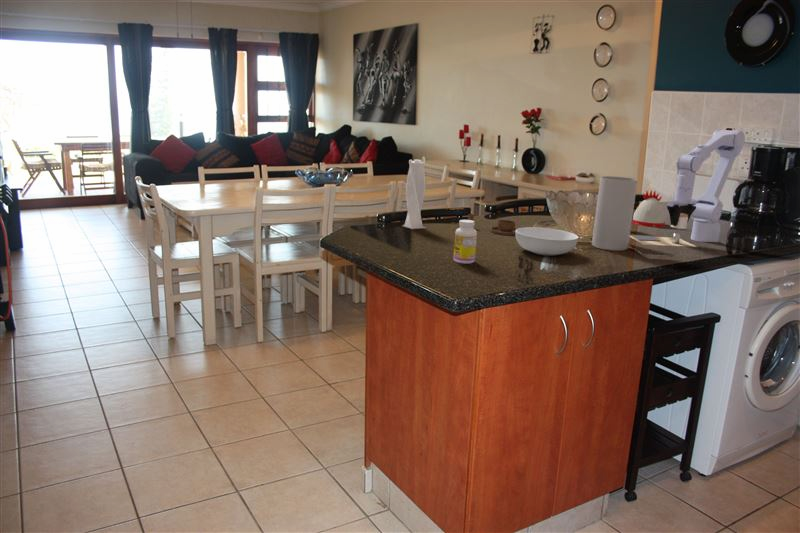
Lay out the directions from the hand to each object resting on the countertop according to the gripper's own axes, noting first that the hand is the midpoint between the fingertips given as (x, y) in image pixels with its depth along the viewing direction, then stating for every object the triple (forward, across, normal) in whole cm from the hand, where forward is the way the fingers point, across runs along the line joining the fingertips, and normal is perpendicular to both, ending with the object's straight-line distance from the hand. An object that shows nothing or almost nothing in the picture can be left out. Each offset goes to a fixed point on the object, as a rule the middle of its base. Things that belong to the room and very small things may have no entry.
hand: (678, 224), depth 236 cm
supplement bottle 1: (+8, -91, +10) cm, 92 cm away
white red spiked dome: (+9, +33, +37) cm, 51 cm away
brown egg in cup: (+1, 0, 0) cm, 1 cm away
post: (+7, 0, 0) cm, 7 cm away
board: (+8, -2, +5) cm, 10 cm away
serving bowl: (+9, -56, +10) cm, 58 cm away
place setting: (+9, -47, +46) cm, 67 cm away
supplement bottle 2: (+9, 0, +25) cm, 26 cm away
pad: (+7, -5, +10) cm, 13 cm away
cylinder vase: (+9, -26, +8) cm, 29 cm away
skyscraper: (+9, -77, +62) cm, 99 cm away
